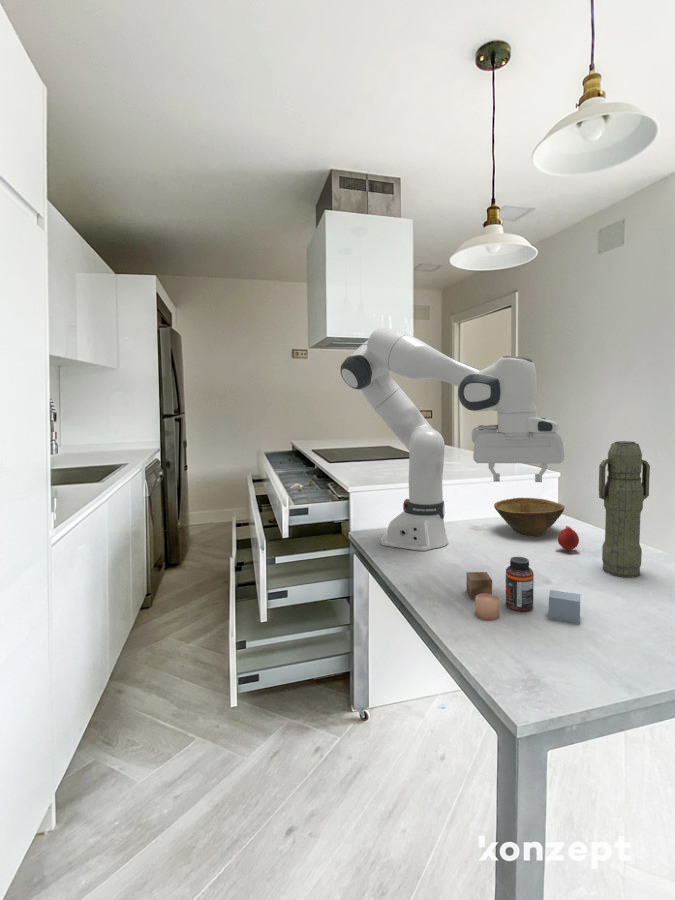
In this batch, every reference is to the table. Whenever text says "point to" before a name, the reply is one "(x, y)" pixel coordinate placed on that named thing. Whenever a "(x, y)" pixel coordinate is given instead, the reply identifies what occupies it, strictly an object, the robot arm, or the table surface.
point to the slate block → (564, 606)
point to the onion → (568, 539)
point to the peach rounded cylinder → (487, 606)
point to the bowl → (529, 514)
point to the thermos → (623, 507)
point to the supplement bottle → (519, 584)
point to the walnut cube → (478, 583)
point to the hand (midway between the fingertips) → (517, 481)
